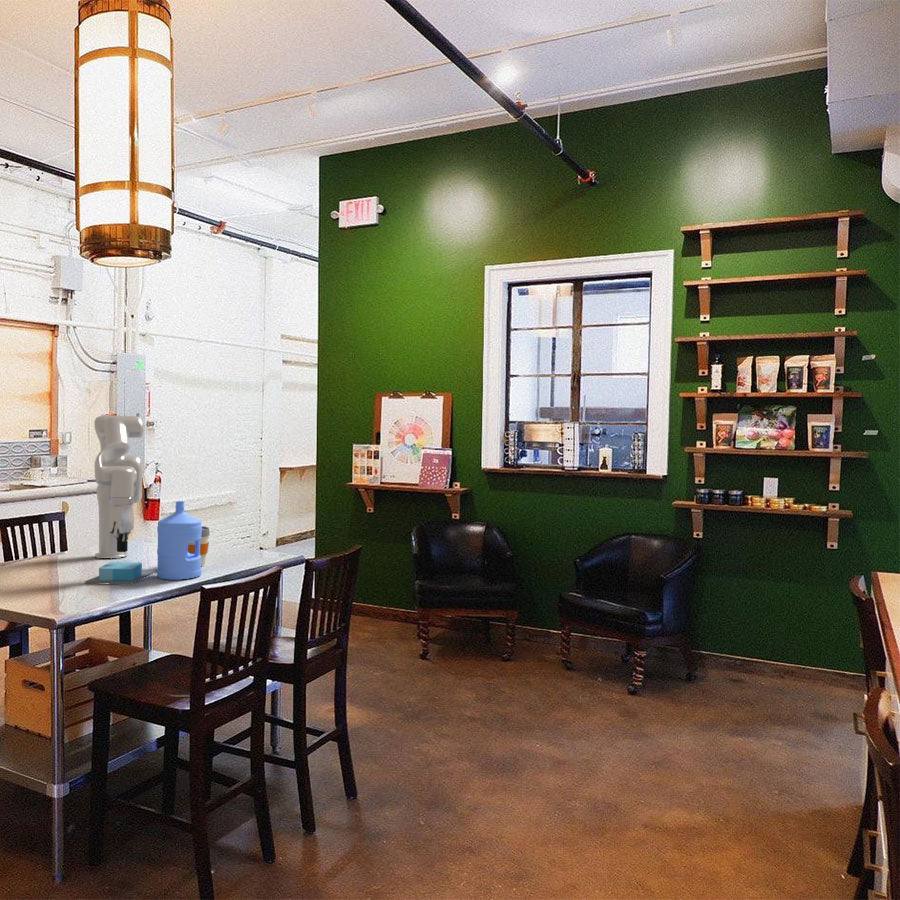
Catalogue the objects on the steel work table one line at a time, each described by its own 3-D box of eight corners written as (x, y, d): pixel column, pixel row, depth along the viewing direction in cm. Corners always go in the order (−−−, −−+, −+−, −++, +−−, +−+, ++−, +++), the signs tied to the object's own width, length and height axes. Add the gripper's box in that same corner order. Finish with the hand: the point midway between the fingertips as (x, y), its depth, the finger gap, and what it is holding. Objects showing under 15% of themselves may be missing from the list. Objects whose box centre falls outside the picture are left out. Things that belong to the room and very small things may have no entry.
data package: (109, 573, 283) (97, 580, 271) (109, 561, 283) (97, 568, 271) (143, 574, 284) (132, 581, 272) (143, 562, 284) (132, 568, 272)
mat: (116, 570, 292) (116, 568, 292) (156, 572, 291) (156, 570, 291) (85, 583, 270) (84, 581, 270) (128, 585, 269) (128, 582, 269)
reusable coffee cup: (203, 569, 299) (203, 531, 299) (171, 568, 300) (171, 530, 299) (213, 563, 312) (214, 526, 311) (183, 562, 312) (183, 525, 311)
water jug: (154, 581, 276) (155, 504, 275) (159, 572, 291) (159, 499, 290) (200, 580, 280) (201, 504, 279) (202, 571, 295) (202, 499, 294)
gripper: (122, 499, 287) (122, 547, 288) (101, 503, 272) (101, 554, 273) (141, 499, 287) (141, 548, 287) (122, 504, 272) (122, 555, 273)
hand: (122, 551), depth 280 cm, fingers closed
